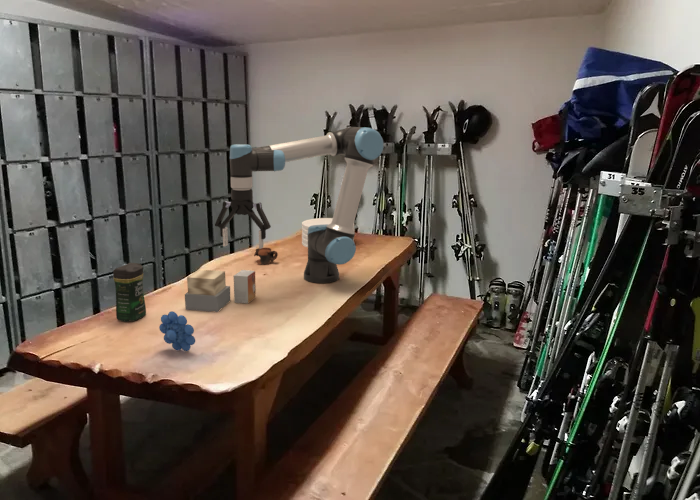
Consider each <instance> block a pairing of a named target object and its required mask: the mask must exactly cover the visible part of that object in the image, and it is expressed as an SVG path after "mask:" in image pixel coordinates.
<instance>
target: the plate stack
mask: <svg viewBox="0 0 700 500" xmlns="http://www.w3.org/2000/svg"><path fill="white" fill-rule="evenodd" d="M332 219H333V217H319V218H318V217H317V218H310V219H305V220H303V221H302V222H301V226H302V227H301V231H302V232H301V245H302V246H303V247H305V248H308V235H307V234H308V228H309V227H310V226H313V225H326V224H331V222H332ZM353 230H354V231H355V223H354V224H353ZM354 240H355V238H354V239H353V241H354ZM354 242H355V241H354Z"/></svg>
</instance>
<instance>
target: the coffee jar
mask: <svg viewBox="0 0 700 500" xmlns="http://www.w3.org/2000/svg"><path fill="white" fill-rule="evenodd" d="M112 273H113V274H112V279H113V282H114V286H115V287H114V288H115V316H116V320H118V321H120V322H124V323H127V322H135V321H137V320H139V319H141V318H143V317H144V316H145V315H146V314H147V308H146V301H145V294H144V285H143V283H144V282H143V281H144V267H143V265H142V264H141V263H139V262H138V263H137V262H128V263H127V264H124V265H121V266H119V267H116V268H115V269H113V271H112Z"/></svg>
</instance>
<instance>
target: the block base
mask: <svg viewBox="0 0 700 500" xmlns="http://www.w3.org/2000/svg"><path fill="white" fill-rule="evenodd" d="M229 301H230V302H231V286H230V285H226V287H225V288H224V289H222V290H221V291H220V292H219V293H217V294H216V295H215V296H214V295H200V294H188V291H187V292H186V293H185V294H184V306H185V310H186V311H187V310H189V311H200V312H202V311H203V312H211V311H215V312H216V313H218V312H220V311H221V310H222V309H223V308H224V307H225V306H226V305H228V304H229V303H230V302H229ZM221 308H222V309H221ZM220 309H221V310H220ZM219 310H220V311H219ZM215 312H214V313H215Z"/></svg>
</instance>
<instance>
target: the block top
mask: <svg viewBox="0 0 700 500" xmlns="http://www.w3.org/2000/svg"><path fill="white" fill-rule="evenodd" d="M186 282H187V292H188V294H200V295H214V296H215V295H216V294H217V293H219V292H220V291H221V290H222V289H224V288H225V287H226V286H227V285H226V271H225V270H214V269H213V270H211V269H198V270H196V271H194V272H193V273H191V274H190V275H188V276H186Z"/></svg>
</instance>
